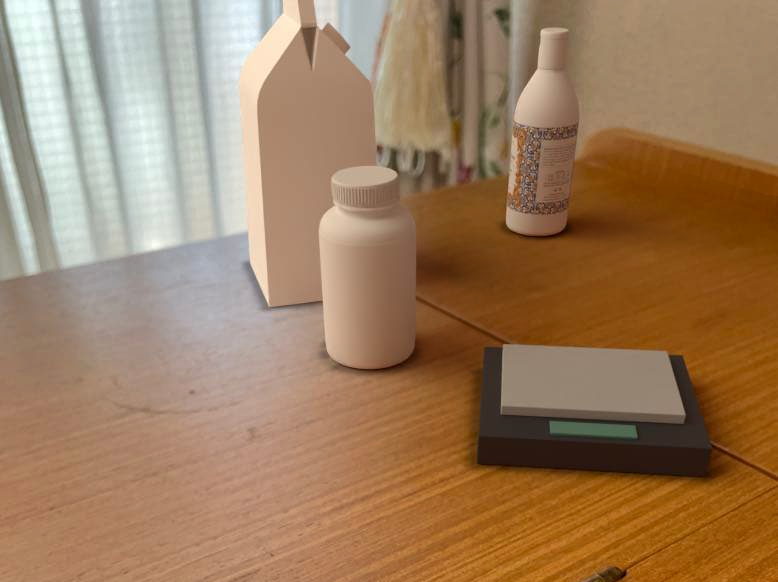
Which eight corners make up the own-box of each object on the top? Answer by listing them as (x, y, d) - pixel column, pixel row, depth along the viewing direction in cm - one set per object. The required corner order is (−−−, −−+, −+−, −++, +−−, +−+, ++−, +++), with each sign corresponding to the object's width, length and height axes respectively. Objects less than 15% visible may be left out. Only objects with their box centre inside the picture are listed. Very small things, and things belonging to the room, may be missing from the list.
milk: (250, 262, 94) (219, -23, 77) (353, 251, 96) (345, -29, 80) (269, 307, 85) (239, -6, 68) (383, 293, 87) (380, -14, 71)
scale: (676, 381, 72) (685, 345, 70) (705, 477, 61) (715, 438, 59) (482, 372, 74) (485, 337, 72) (476, 463, 63) (479, 425, 61)
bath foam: (504, 216, 104) (519, 24, 91) (563, 217, 103) (586, 24, 91) (506, 237, 98) (522, 35, 86) (568, 238, 98) (593, 35, 85)
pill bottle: (307, 357, 76) (294, 180, 67) (358, 324, 81) (354, 154, 72) (382, 380, 73) (380, 196, 63) (431, 344, 78) (436, 168, 68)
